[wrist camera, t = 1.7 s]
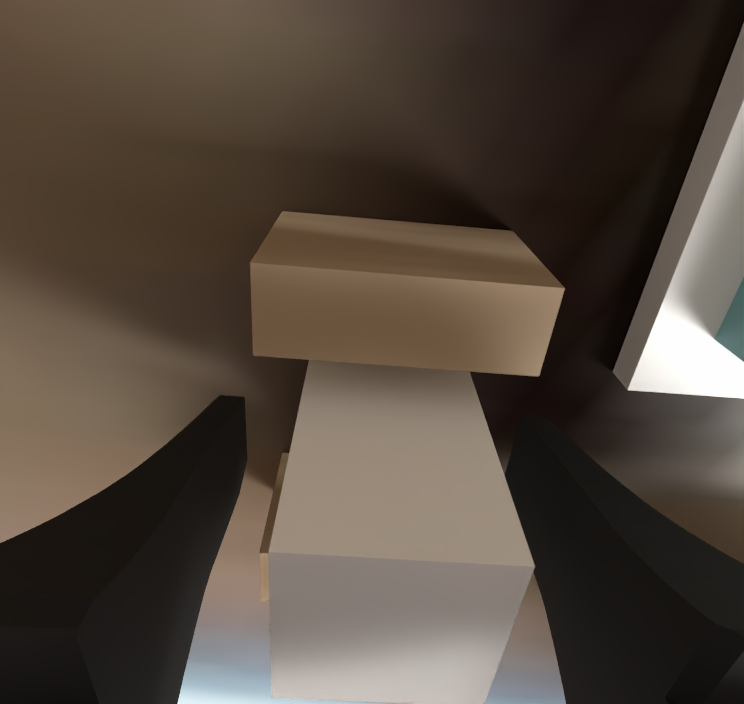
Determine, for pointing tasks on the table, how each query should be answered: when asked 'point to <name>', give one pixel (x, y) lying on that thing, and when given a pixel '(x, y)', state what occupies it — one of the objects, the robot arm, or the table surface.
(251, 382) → the table surface
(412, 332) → the wooden pieces
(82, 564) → the robot arm
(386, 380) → the plug
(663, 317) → the port
